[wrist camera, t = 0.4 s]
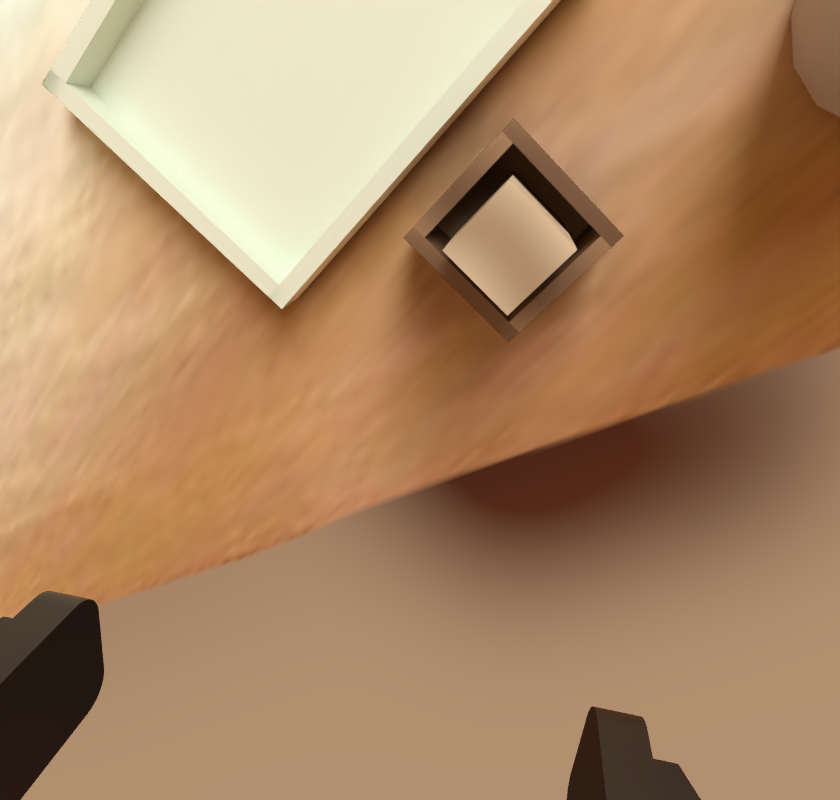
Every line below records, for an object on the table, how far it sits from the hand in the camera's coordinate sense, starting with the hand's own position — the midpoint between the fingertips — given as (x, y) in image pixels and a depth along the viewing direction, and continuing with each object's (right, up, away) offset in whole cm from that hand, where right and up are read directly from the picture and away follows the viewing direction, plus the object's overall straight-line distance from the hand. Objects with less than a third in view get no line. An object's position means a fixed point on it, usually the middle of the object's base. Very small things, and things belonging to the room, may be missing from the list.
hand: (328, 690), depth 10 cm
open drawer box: (+6, +13, +20) cm, 24 cm away
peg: (+6, +13, +19) cm, 24 cm away
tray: (-3, +21, +18) cm, 28 cm away
